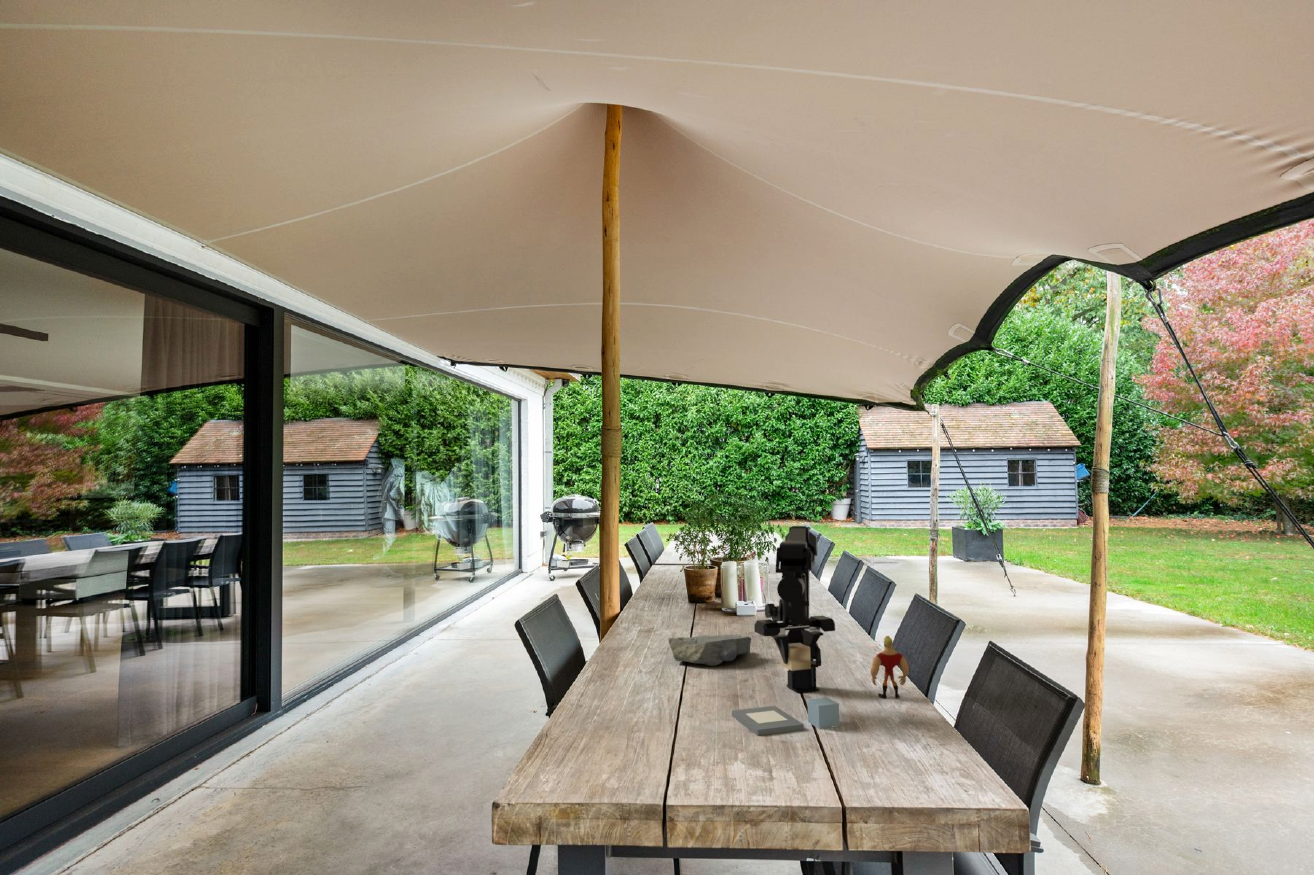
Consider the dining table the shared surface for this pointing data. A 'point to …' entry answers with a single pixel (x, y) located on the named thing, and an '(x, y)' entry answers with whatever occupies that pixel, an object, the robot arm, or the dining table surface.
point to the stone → (709, 648)
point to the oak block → (798, 657)
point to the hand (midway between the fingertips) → (795, 662)
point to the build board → (767, 720)
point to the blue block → (823, 712)
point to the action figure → (889, 666)
